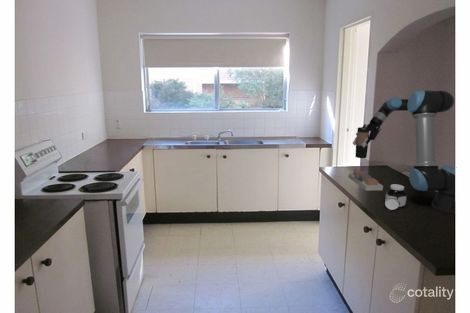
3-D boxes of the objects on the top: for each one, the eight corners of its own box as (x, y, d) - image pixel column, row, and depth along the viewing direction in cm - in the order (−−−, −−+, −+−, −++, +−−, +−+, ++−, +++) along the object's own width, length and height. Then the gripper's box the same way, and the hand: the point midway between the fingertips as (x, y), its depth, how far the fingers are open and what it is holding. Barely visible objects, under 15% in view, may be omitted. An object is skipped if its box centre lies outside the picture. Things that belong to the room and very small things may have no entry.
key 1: (365, 177, 234) (365, 172, 233) (356, 177, 234) (357, 173, 233) (361, 174, 240) (361, 170, 239) (353, 174, 239) (353, 170, 239)
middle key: (371, 181, 225) (371, 176, 224) (362, 181, 225) (362, 177, 224) (367, 178, 231) (367, 174, 230) (358, 178, 231) (358, 174, 230)
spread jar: (401, 203, 193) (404, 184, 191) (409, 211, 182) (412, 191, 180) (379, 202, 195) (381, 183, 192) (386, 210, 184) (388, 190, 181)
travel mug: (354, 157, 232) (356, 128, 227) (355, 155, 239) (358, 126, 234) (366, 158, 229) (368, 129, 224) (367, 156, 235) (370, 127, 230)
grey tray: (382, 190, 215) (383, 185, 214) (365, 190, 215) (366, 185, 214) (363, 177, 242) (363, 172, 242) (348, 177, 242) (348, 172, 241)
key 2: (377, 185, 216) (378, 181, 216) (368, 185, 216) (368, 181, 215) (373, 182, 222) (373, 178, 222) (364, 182, 222) (364, 178, 221)
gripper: (392, 125, 226) (372, 151, 223) (368, 121, 244) (349, 145, 241) (387, 118, 223) (367, 144, 220) (363, 114, 240) (344, 139, 237)
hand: (358, 145), depth 230 cm, fingers closed on travel mug, 7 cm apart
